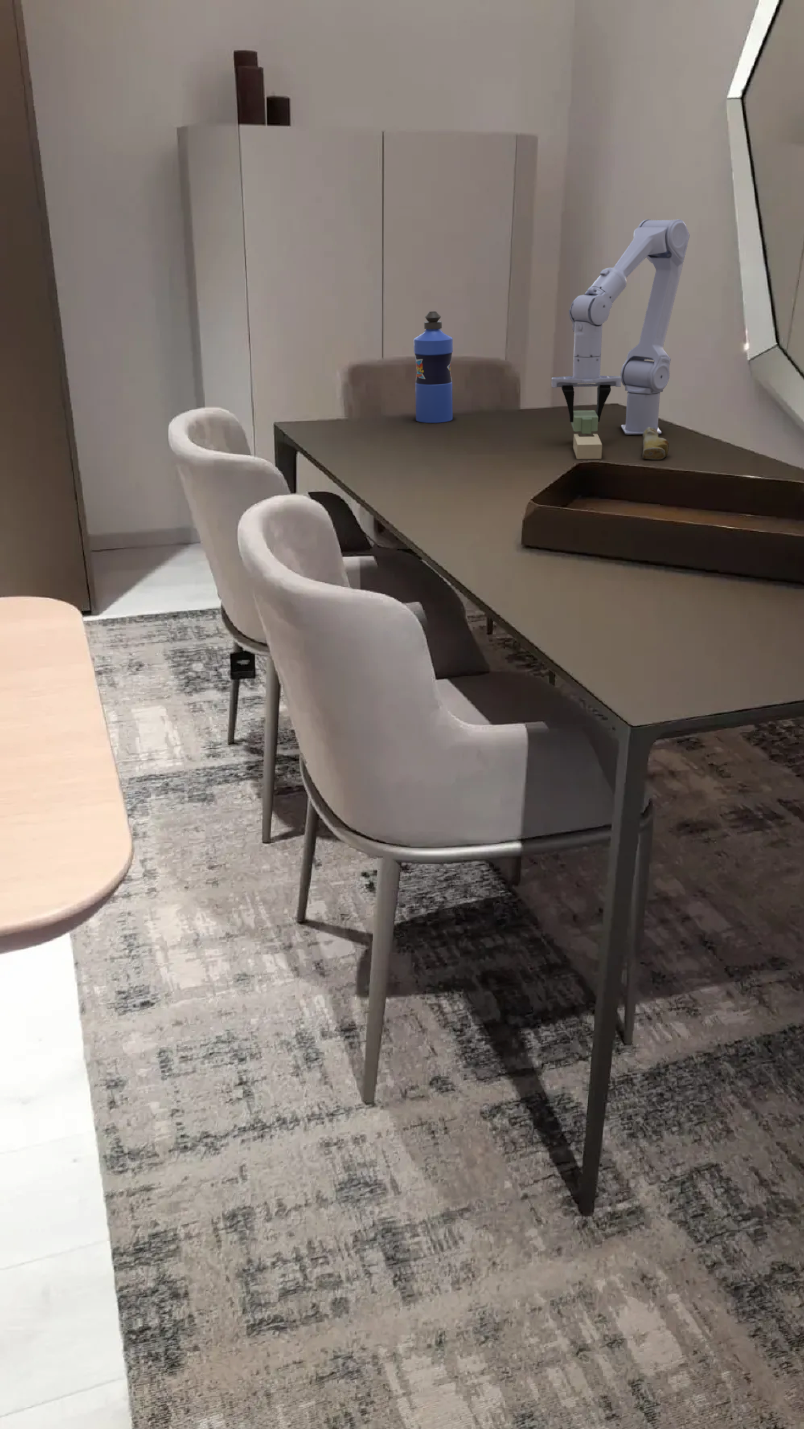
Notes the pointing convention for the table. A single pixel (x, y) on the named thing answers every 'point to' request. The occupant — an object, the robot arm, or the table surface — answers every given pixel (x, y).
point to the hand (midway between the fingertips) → (584, 421)
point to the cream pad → (587, 447)
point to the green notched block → (585, 421)
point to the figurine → (654, 445)
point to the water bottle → (433, 372)
